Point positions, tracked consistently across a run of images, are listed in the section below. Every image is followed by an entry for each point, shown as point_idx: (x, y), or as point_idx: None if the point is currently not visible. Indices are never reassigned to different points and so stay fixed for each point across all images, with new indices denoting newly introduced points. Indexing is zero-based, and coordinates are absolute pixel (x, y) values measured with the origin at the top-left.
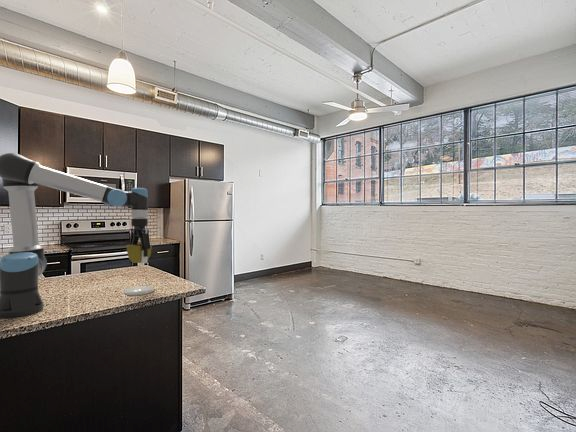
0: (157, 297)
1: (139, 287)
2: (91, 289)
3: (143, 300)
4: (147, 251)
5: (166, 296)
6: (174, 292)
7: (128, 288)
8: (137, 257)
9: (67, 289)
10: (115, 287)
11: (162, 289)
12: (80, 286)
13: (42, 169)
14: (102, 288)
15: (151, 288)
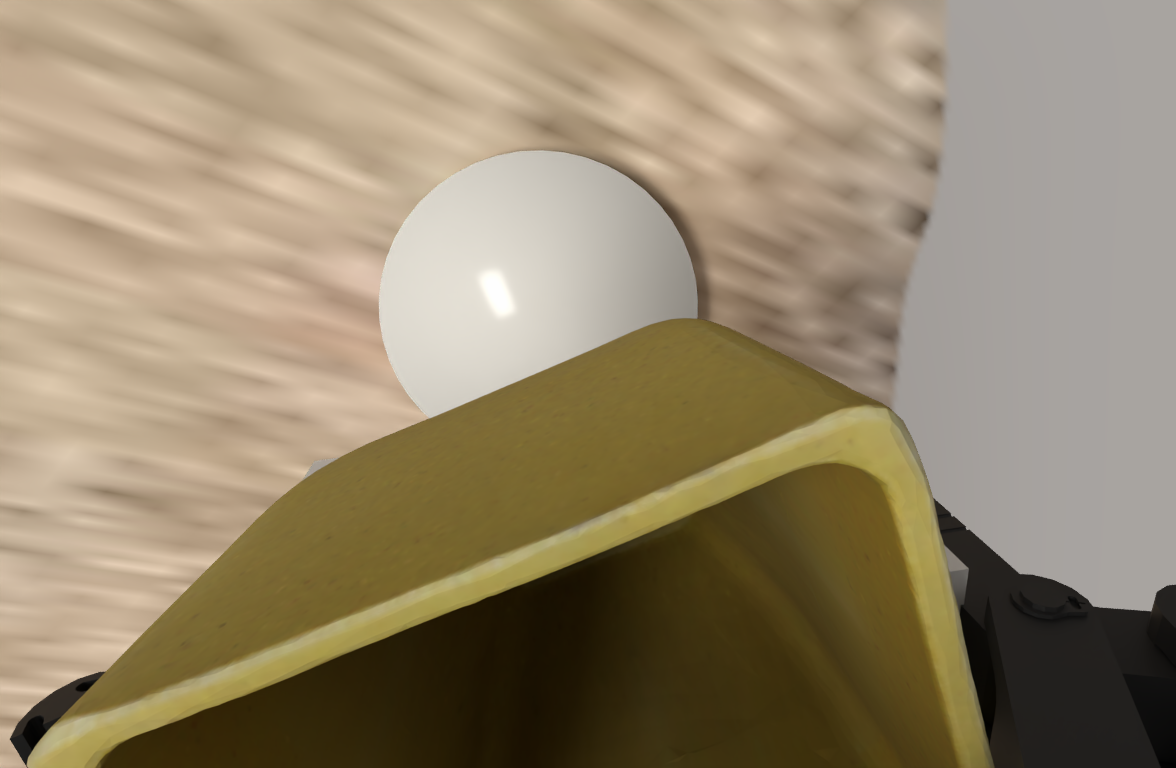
0: (892, 258)
1: (448, 282)
2: (129, 618)
3: (877, 391)
4: (1010, 568)
5: (934, 172)
6: (865, 12)
7: (419, 390)
8: (754, 636)
9: (9, 755)
10: (162, 435)
11: (622, 55)
12: None
13: None
14: (139, 540)
15: (596, 194)
